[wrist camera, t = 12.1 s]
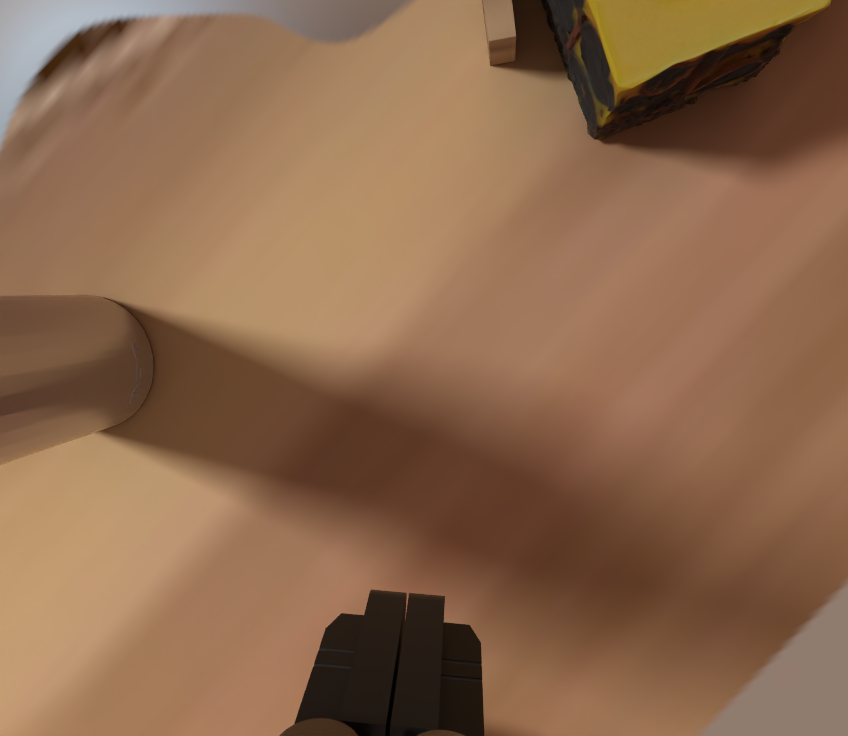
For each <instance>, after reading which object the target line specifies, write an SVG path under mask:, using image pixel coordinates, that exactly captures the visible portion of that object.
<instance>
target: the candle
mask: <svg viewBox="0 0 848 736" xmlns="http://www.w3.org/2000/svg"><path fill="white" fill-rule="evenodd" d="M542 4H543V7H544V9H545V10H546V12H547V22H548V24H549V26H550V28H551V30H552V31H553V32H554V33H555V41H556V42H557V44H558V48H559V52H560V53H561V56H562V58H563V63H564V66H565V68H566V70H567V72H568V79H569V80H570V81H572V83H573V86H574V89H575V91H576V94H577V96H578V100H579V104H580V106H581V109H582V111H583V114H584V116H585V119H586V121H587V127H588V134H589V135H590V136H591V137H593V138H594V139H598V140H599V139H603V138H606V137H608V136H610V135H613V134H615V133H617V132H620V131H622V130H625V129H628V128H630V127H633V126H636V125H641V124H642V123H644V122H648V121H651V120H653V119H655V118H658V117H660V116H661V115H663V114H666V113H670V112H673V111H675V110H678V109H680V108H683V107H684V106H685V105H686V103H688V104H694V103H695V102H696V100H697V96H698V95H699V94H700V93H702V92H703V91H707V90H711V89H716V88H719V87H722V86H727V85H737V84H738V83H739V82H744V81H747V80H748V79H750V78H752V77H756V76H757V74H758V73H759V72H760V71H761V70H762V69H763V68H764V67H765V65H766V64H768V62H769V61H770V60H771V59H772V58H773V57H775V56H776V55H778V54H779V52H780V48H781V46H782V44H783V43H784V41H785V39H786V37H787V35H788V34H789V33H790V32H791V31H792V30H793V29H794V28H795V27H796V26H797V25H798V24H801V23H803V22H806V21H808V20H809V19H811V18H812V17H813V16H815V15H816V14H818V13H820V12H822V11H823V10H825V9H827V7H828V6H829V5H830V4H831V0H542Z"/></svg>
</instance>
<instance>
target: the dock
mask: <svg viewBox="0 0 848 736" xmlns="http://www.w3.org/2000/svg"><path fill="white" fill-rule="evenodd" d="M482 3H483V11H484V19H485V27H486V35H487V43H488V51H489V59H490V66H491V65H496V64H501V63H507V62H512V61H515V51H516V30H515V22H514V14H513V5H512V0H482Z"/></svg>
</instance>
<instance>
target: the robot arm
mask: <svg viewBox="0 0 848 736" xmlns="http://www.w3.org/2000/svg"><path fill="white" fill-rule="evenodd" d="M153 373H154V368H153V355H152V350H151V346H150V343H149V340H148V338H147V336H146V334H145V332H144V330H143V328H142V327H141V326H140V324H139V323H138V321H137V320H136V319H135V318H134V317H133V316H132V315H131V314H130V313H129V312H128V311H127V310H126V309H125V308H123V307H121V306H120V305H118V304H117V303H115V302H113V301H111V300H108V299H105V298H102V297H98V296H89V295H26V296H0V465H1V464H4V463H7V462H10V461H13V460H16V459H19V458H22V457H25V456H28V455H30V454H33V453H36V452H39V451H42V450H45V449H48V448H51V447H54V446H57V445H60V444H62V443H65V442H68V441H71V440H74V439H77V438H80V437H83V436H86V435H89V434H92V433H95V432H98V431H101V430H103V429H106V428H109V427H112V426H115V425H118V424H120V423H121V422H123V421H125V420H127V419H128V418H130V417H131V416H132V415H133V414H134V413H135V412H136V411H137V410H138V409H139V408H140V407H141V405H142V404H143V402H144V401H145V399H146V397H147V395H148V392H149V390H150V388H151V384H152V378H153ZM444 603H445V596H437V595H426V594H414V593H409V598H408V605H407V612H406V593H402V592H391V591H380V590H371V591H370V594H369V598H368V602H367V606H366V610H365V614H364V615H354V614H343V613H341V614H340V615H339V616H338V617H337V618H336V619H335V620H334V621H333V622H332V623H331V624H330V625H329V626H328V627H327V628H326V629H325V632H324V635H323V638H322V641H321V645H320V649H319V651H318V654H317V657H316V660H315V663H314V667H313V669H312V672H311V675H310V678H309V681H308V684H307V687H306V690H305V693H304V696H303V699H302V702H301V705H300V708H299V711H298V714H297V717H296V721H295V724H294V725H292V726H290V727H289V728H287V729H286V730H285V731H284V732H283V733H281V734H280V736H484V716H483V688H482V666H481V663H482V661H481V642H480V641H479V639H478V638H477V636H476V634H475V633H474V631H473V630H472V628H471V626H470V625H465V624H454V623H444ZM405 614H406V619H405Z"/></svg>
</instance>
